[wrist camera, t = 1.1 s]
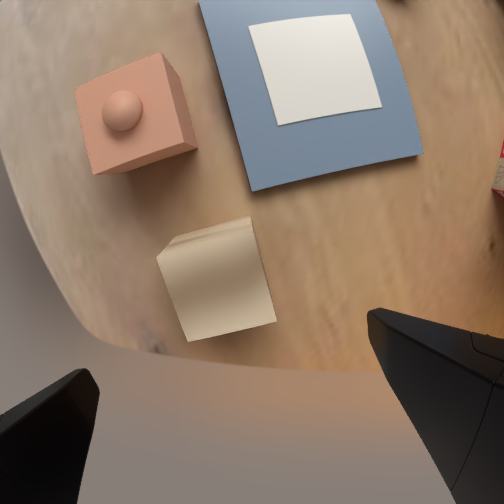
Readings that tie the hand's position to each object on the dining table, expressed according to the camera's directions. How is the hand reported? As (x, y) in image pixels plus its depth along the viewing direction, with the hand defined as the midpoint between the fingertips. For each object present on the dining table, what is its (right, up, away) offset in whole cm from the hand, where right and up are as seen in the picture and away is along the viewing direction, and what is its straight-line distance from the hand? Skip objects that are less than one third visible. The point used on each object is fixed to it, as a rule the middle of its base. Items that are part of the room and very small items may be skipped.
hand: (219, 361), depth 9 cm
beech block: (-1, +2, +12) cm, 12 cm away
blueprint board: (+5, +15, +9) cm, 18 cm away
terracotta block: (-5, +11, +9) cm, 16 cm away
